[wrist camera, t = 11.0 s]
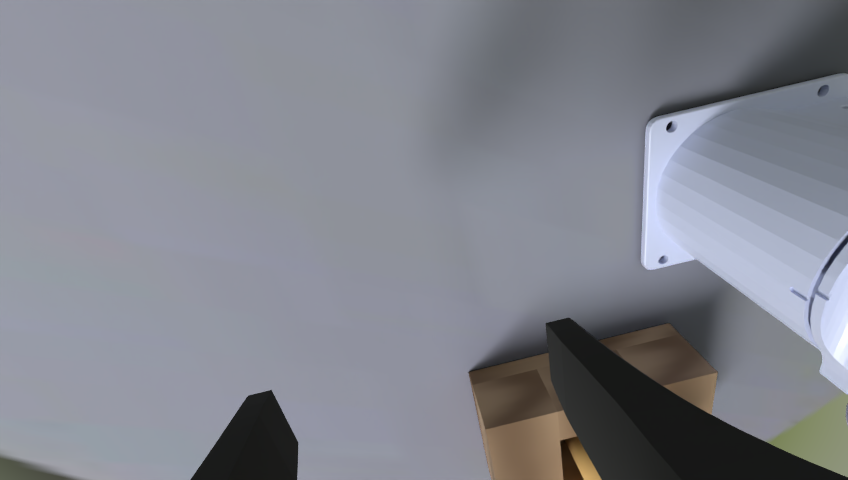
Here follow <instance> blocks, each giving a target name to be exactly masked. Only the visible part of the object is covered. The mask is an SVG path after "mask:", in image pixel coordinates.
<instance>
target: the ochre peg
mask: <svg viewBox="0 0 848 480" xmlns="http://www.w3.org/2000/svg"><path fill="white" fill-rule="evenodd" d="M565 442H566V444H567V446H568V448H569V450H570V452H571V454H572V456H573V458H574V460H575V462H576V464H577V466H578V469H579V471H580V473H581V475H582V477H583V479H584V480H602V479H601V478H600V476H599V474H598V472H597V471H596V469H595V467H594V465H593V464H592V462H591V460H590V458H589V456H588V455H587V453H586V451H585V449H584V448H583V446H582V444H581V442H580V441H579V439H578V437H577V436H576V437H572V438H568V439H565Z"/></svg>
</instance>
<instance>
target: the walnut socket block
mask: <svg viewBox="0 0 848 480" xmlns="http://www.w3.org/2000/svg"><path fill="white" fill-rule="evenodd" d="M599 341H600V342H601V343H603V344H604V345H605V346H606V347H608V348H609V349H610V350H612V351H613V352H614V353H616V354H617V355H619V356H620V357H621V358H623V359H624V360H626V361H627V362H628V363H630V364H631V365H633V366H634V367H635V368H637V369H638V370H640V371H641V372H643V373H644V374H646V375H647V376H649V377H650V378H652V379H653V380H655V381H656V382H658V383H659V384H661V385H662V386H664V387H665V388H667V389H669V390H670V391H672V392H673V393H675V394H676V395H678V396H680V397H681V398H683V399H685V400H686V401H688V402H690V403H691V404H693V405H695V406H697V407H698V408H700V409H702V410H704V411H705V412H707V413H709V414H711V413H712V406H713V400H714V393H715V387H716V380H717V374H718V372H717V371H716V370H715V369H714V368H713V367H712V366H711V365H710V364H709V363H708V362H707V361H706V360H705V359H704V358H703V357H702V356H701V355H700V354H699V353H698V352H697V351H696V350H695V349H694V348H693V347H692V346H691V345H690V344H689V343H688V342H687V341H686V340H685V339H684V338H683V337H682V336H681V335H680V334H679V333H678V332H677V331H676V329H675V328H674V327H673V326H672V325H671V324H670V323H667V324H663V325H659V326H655V327H651V328H647V329H643V330H639V331H635V332H631V333H627V334H622V335H618V336H614V337H610V338H606V339H602V340H599ZM469 377H470V381H471V386H472V391H473V396H474V401H475V405H476V410H477V415H478V420H479V425H480V429H481V434H482V439H483V444H484V448H485V453H486V458H487V463H488V468H489V472H490V475H491V479H492V480H584V479H583V477H582V475H581V473H580V471H579V469H578V466H577V464H576V462H575V460H574V458H573V456H572V454H571V452H570V450H569V448H568V446H567V444H566V442H565V439H568V438H572V437H576V436H577V435H576V433H575V432H574V430H573V428H572V426H571V424H570V423H569V421H568V419H567V417H566V415H565V413H564V410H563V408H562V406H561V403H560V401H559V399H558V396H557V394H556V392H555V389H554V387H553V384H552V382H551V376H550V365H549V354H548V353H545V354H541V355H537V356H533V357H528V358H524V359H520V360H516V361H512V362H508V363H504V364H500V365H496V366H492V367H488V368H483V369H479V370H475V371H471V372H469Z"/></svg>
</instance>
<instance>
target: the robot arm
mask: <svg viewBox="0 0 848 480" xmlns="http://www.w3.org/2000/svg"><path fill="white" fill-rule="evenodd" d="M820 87H821V89H820ZM819 89H820V92H819V93H818V90H819ZM671 121H672V126H671V127H670V129H668V130H666V127H667V124H668V123H669V122H671ZM663 255H664V256H663ZM661 256H663V258H662V259H660V260H659V258H660V257H661ZM695 259H697V260H698V261H700V262H701V263H702V264H704V265H705V266H706V267H708V268H709V269H710V270H712V271H713V272H714V273H716V274H717V275H718V276H720V277H721V278H723V279H724V280H725V281H727V282H728V283H729V284H731V285H732V286H733V287H735V288H736V289H737V290H739V291H740V292H741V293H743V294H744V295H745V296H747V297H748V298H750V299H751V300H752V301H754V302H755V303H756V304H758V305H759V306H760V307H762V308H763V309H764V310H766V311H767V312H768V313H770V314H771V315H773V316H774V317H775V318H777V319H778V320H779V321H781V322H782V323H783V324H785V325H786V326H787V327H789V328H790V329H791V330H793V331H794V332H796V333H797V334H798V335H800V336H801V337H802V338H804V339H805V340H806V341H808V342H809V343H810V344H812V345H813V346H814V347H816V348H817V349H818V350H820V351H821V353H822V364H821V367H820V373H821V374H822V375H823V376H824V377H826V378H827V379H828V380H829V381H831V382H832V383H833V384H835V385H836V386H837V387H838V388H840V389H841V390H842V391H843V392H845V393H846V394H848V74H846V73H839V74H835V75H831V76H827V77H822V78H818V79H814V80H810V81H805V82H801V83H797V84H793V85H788V86H784V87H780V88H776V89H772V90H767V91H763V92H759V93H755V94H750V95H746V96H742V97H738V98H733V99H729V100H725V101H721V102H717V103H712V104H708V105H704V106H700V107H695V108H691V109H687V110H683V111H678V112H674V113H670V114H666V115H662V116H657V117H655V118H653V119H652V120H650V121H649V123H648V124H647V126H646V134H645V162H644V190H643V218H642V245H641V264H642V265H643V266H644V267H645V268H646V269H648V270H654V269H658V268H662V267H666V266H670V265H674V264H678V263H683V262H687V261H691V260H695ZM546 332H547V343H548V354H549V365H550V376H551V382H552V384H553V387H554V389H555V392H556V394H557V396H558V399H559V401H560V403H561V406H562V408H563V410H564V413H565V415H566V417H567V419H568V421H569V423H570V424H571V426H572V428H573V430H574V432H575V433H576V435H577V437H578V439H579V441H580V442H581V444H582V446H583V448H584V449H585V451H586V453H587V455H588V456H589V458H590V460H591V462H592V464H593V465H594V467H595V469H596V471H597V472H598V474H599V476H600V478H601V479H602V480H848V477H845V476H843V475H840V474H838V473H835V472H833V471H831V470H828V469H826V468H823V467H821V466H818V465H816V464H813V463H811V462H808V461H806V460H804V459H801V458H799V457H797V456H795V455H792V454H790V453H788V452H786V451H784V450H782V449H779V448H777V447H775V446H773V445H771V444H769V443H767V442H765V441H762V440H760V439H758V438H756V437H754V436H752V435H750V434H747V433H745V432H743V431H741V430H739V429H737V428H735V427H733V426H731V425H729V424H727V423H726V422H724V421H722V420H720V419H718V418H716V417H715V416H713V415H711V414H709V413H707V412H705V411H704V410H702V409H700V408H698V407H697V406H695V405H693V404H691V403H690V402H688V401H686V400H685V399H683V398H681V397H680V396H678V395H676V394H675V393H673V392H672V391H670V390H669V389H667V388H665V387H664V386H662V385H661V384H659V383H658V382H656V381H655V380H653V379H652V378H650V377H649V376H647V375H646V374H644V373H643V372H641V371H640V370H638V369H637V368H635V367H634V366H633V365H631V364H630V363H628V362H627V361H626V360H624V359H623V358H621V357H620V356H619V355H617V354H616V353H614V352H613V351H612V350H610V349H609V348H608V347H606V346H605V345H604V344H603V343H601V342H600V341H599V340H597V339H596V338H595V337H593V336H592V335H591V334H590V333H588V332H587V331H586V330H585V329H583V328H582V327H581V326H579V325H578V324H577V323H576V322H574V321H573V320H572V319H570V318H566V319H561V320H557V321H553V322H549V323H546ZM846 421H847V425H848V404H847V408H846ZM297 468H298V441H297V439H296V437H295V435H294V433H293V431H292V430H291V428H290V426H289V424H288V422H287V420H286V418H285V416H284V414H283V412H282V410H281V408H280V406H279V404H278V402H277V400H276V398H275V396H274V394H273V392H272V390H270V391H266V392H262V393H257V394H253V395H249V396H248V397H247V398H246V399H245V401H244V402H243V404H242V405H241V407H240V408H239V410H238V411H237V413H236V414H235V416H234V417H233V419H232V420H231V422H230V423H229V425H228V426H227V428H226V429H225V431H224V432H223V433H222V435H221V436H220V438H219V439H218V441H217V442H216V444H215V445H214V447H213V448H212V450H211V451H210V453H209V454H208V456H207V457H206V458H205V460H204V461H203V463H202V464H201V466H200V467H199V468H198V470H197V471H196V473H195V474H194V476H193V477H192V478H191V480H297Z"/></svg>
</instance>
